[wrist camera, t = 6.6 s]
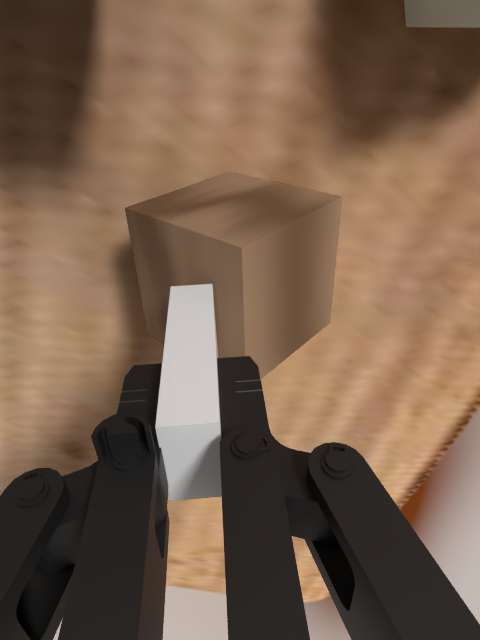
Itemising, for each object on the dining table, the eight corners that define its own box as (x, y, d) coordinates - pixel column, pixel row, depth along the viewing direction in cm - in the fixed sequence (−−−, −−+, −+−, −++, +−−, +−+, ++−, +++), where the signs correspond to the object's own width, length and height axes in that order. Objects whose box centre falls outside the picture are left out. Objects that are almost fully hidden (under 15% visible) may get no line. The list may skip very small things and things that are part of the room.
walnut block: (147, 334, 21) (246, 391, 17) (124, 207, 17) (241, 247, 14) (234, 283, 24) (329, 322, 21) (229, 172, 21) (342, 196, 18)
